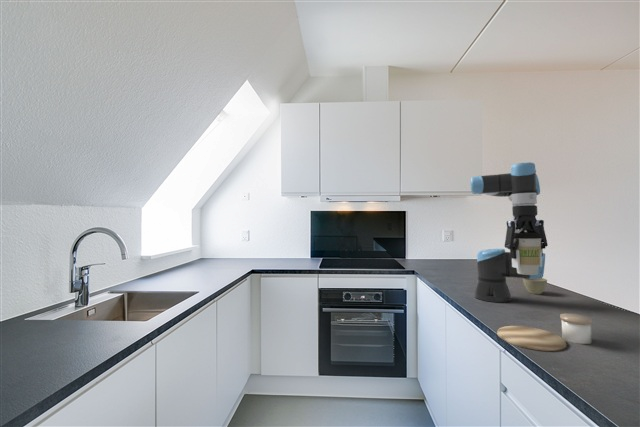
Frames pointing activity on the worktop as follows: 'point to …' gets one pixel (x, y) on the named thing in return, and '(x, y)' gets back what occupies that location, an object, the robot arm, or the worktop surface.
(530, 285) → the flower pot
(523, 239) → the coffee cup
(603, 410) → the worktop surface
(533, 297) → the worktop surface
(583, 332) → the sugar jar
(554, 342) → the round wooden board
